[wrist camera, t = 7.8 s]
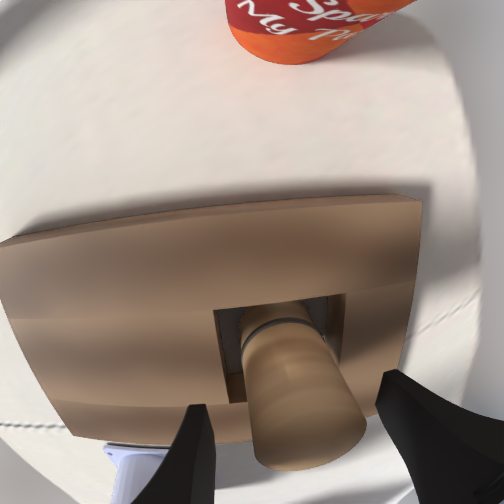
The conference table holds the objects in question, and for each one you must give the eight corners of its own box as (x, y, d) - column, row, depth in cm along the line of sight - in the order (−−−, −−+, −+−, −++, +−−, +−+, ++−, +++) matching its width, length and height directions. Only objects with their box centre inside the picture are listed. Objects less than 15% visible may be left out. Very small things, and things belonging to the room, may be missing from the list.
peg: (309, 350, 17) (357, 456, 9) (241, 360, 16) (257, 477, 9) (311, 289, 15) (378, 393, 8) (233, 298, 15) (247, 420, 7)
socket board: (370, 389, 18) (383, 411, 16) (82, 413, 17) (73, 435, 14) (395, 193, 14) (422, 201, 12) (10, 237, 12) (-15, 250, 10)
